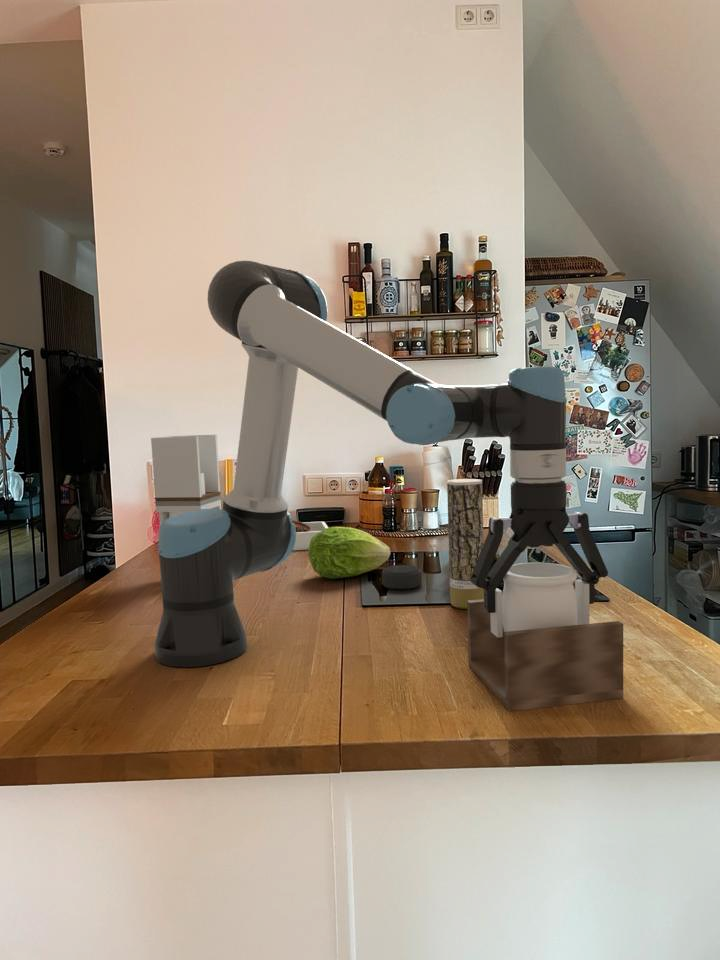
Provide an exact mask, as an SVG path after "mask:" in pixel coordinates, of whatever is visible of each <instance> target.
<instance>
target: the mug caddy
mask: <svg viewBox="0 0 720 960" xmlns="http://www.w3.org/2000/svg"><path fill="white" fill-rule="evenodd" d="M303 523H304V524H306V525H308V526H309V527H310V530H309V532H297V533H296V540H295V544H294V547H293V550H292V552H293V551H304V550H305V551H306V550H307V551H308V550H309V545H310V541H311V538H312V537H313V536H315V535H316V534H318V533H319V532H321V531H323V530H324V529H327V528H329V526H328V525H327V523H326V522H325V520H324V521H323V520H322V521H310V522H308V521H307V522H303Z"/></svg>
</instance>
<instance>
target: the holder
mask: <svg viewBox="0 0 720 960" xmlns="http://www.w3.org/2000/svg"><path fill="white" fill-rule="evenodd" d="M466 610H467V611H466V612H467V613H466V615H467V644H468V646H467V648H468V649H467V653H468V667H469V668H470V669H471V670H472V671H473V672H474V674H475V675H476V676H477V677H478V679H480V680H481V682H482V683H483V684H484V685H485V686H486V687H487V688H488V689H489V690H490V691H491V692H492V694H493V695H494V696H495V698H497V699H498V700H499V702H500V703H501V704H502V705H503V706H504V708H505V709H506V710H507V711H508V712H513V711H514V712H515V711H516V712H517V711H524V710H530V709H531V710H532V709H539V708H548V707H550V708H551V707H558V706H568V705H575V704H584V703H594V702H601V701H602V702H603V701H610V700H618V699H619V700H620V699H624V623H622V622H621V621H619V620H617V621H616V620H615V621H607V622H596V623H595V622H594V623H589V624H582V625H572V626H561V627H550V628H540V629H529V630H519V631H508V632H504V628H503V637H499V638H497V637H496V636H495V635H494V634H493V633H492V632H491V620H490V613H488V612H487V611H486V610H485V608H484V599H480V600H468V601H467V609H466ZM502 625H503V622H502Z"/></svg>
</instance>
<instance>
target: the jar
mask: <svg viewBox="0 0 720 960" xmlns="http://www.w3.org/2000/svg"><path fill="white" fill-rule="evenodd" d="M577 577H578V573H577V570H576V569H574V568H573V567H572V566H568V565H566V564H560V563H553V562H521V563H520V562H519V563H514V564H513V565H512V567H511V568H510V569H509V571H508V572H507V574H506V575H505V577H504V578H503V581H505V582H504V586H503V589H502V622H503V628H504V632H508V631H519V630H529V629H540V628H550V627H561V626H572V625H577V599H576V593H575V584H574V583H575V580H577Z"/></svg>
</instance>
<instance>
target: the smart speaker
mask: <svg viewBox="0 0 720 960" xmlns="http://www.w3.org/2000/svg"><path fill="white" fill-rule="evenodd" d="M422 574H423V573H422V570H421V568H419V567H418V566H415V565H409V564H401V565H400V564H398V565H390V566H387V567H385V568H384V569H383V570H382V571H381V584H382V585H383V587H384V588H386V589H389V590H394V589H408V590H412V589H411V588H414V589H416V588H415V587H417V588H418V587H420V586H422V582H423V578H422V576H423V575H422Z"/></svg>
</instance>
